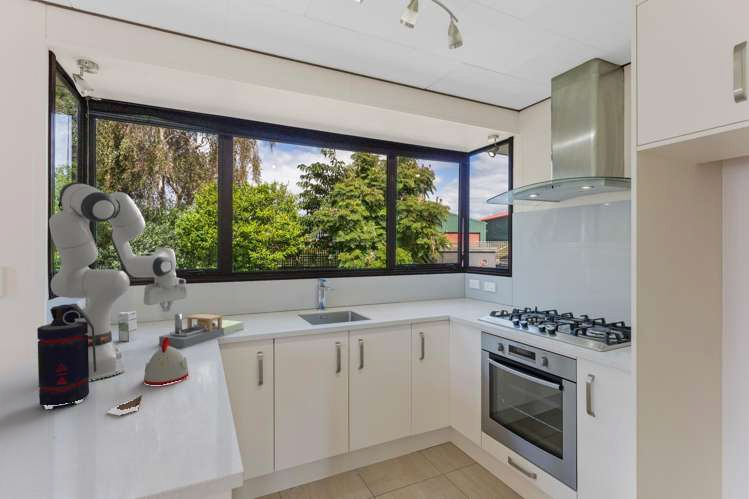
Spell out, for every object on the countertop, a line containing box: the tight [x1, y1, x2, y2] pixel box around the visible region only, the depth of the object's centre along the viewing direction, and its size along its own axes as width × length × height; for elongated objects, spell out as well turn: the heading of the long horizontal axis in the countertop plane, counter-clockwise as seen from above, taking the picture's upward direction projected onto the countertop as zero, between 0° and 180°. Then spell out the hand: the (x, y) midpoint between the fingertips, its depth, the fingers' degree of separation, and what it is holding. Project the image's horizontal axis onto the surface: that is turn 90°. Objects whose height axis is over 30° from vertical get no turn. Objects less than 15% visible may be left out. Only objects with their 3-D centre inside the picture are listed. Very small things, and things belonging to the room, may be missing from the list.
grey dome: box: [143, 337, 189, 385], centre depth 133 cm, size 14×14×15 cm
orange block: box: [196, 320, 208, 328], centre depth 193 cm, size 5×5×4 cm
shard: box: [117, 394, 143, 410], centre depth 110 cm, size 11×8×2 cm
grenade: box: [36, 303, 96, 406], centre depth 114 cm, size 14×12×30 cm
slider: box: [169, 313, 218, 336], centre depth 188 cm, size 22×10×10 cm, turn 158°
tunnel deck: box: [158, 313, 245, 349], centre depth 193 cm, size 40×16×10 cm, turn 158°
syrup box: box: [117, 310, 138, 342], centre depth 186 cm, size 6×6×14 cm
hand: (166, 311), depth 173 cm, fingers closed
